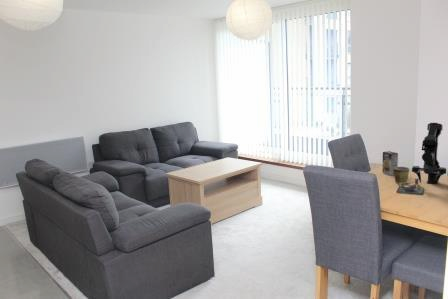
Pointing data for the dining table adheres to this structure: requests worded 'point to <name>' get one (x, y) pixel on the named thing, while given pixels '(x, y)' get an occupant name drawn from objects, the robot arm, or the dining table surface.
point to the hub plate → (410, 190)
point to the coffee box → (389, 162)
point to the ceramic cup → (401, 174)
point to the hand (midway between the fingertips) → (428, 183)
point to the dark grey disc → (412, 185)
